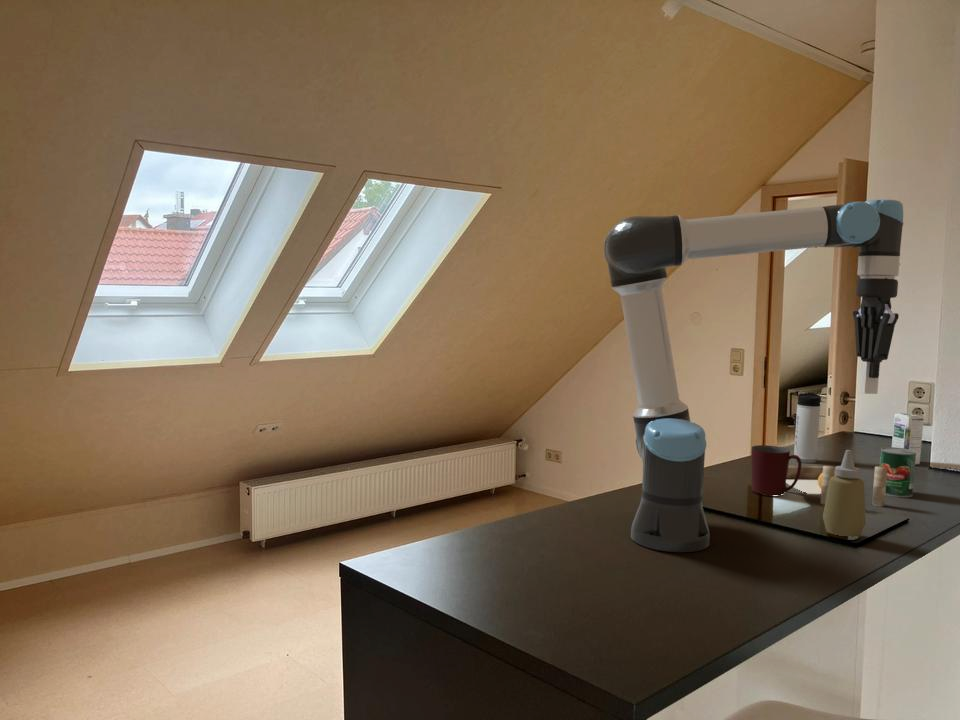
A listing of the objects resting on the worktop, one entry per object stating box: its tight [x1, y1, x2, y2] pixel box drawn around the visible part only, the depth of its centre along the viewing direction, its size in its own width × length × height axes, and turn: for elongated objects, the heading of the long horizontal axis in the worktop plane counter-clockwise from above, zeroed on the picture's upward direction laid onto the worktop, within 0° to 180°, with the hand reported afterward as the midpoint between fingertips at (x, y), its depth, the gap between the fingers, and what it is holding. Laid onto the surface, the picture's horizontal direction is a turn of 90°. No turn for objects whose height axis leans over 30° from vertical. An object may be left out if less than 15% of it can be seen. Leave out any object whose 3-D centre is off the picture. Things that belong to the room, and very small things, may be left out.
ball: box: [817, 473, 836, 489], centre depth 198 cm, size 6×6×6 cm
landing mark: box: [786, 479, 821, 495], centre depth 204 cm, size 14×14×1 cm
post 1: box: [820, 465, 836, 503], centre depth 187 cm, size 3×3×9 cm
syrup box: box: [891, 412, 925, 465], centre depth 235 cm, size 6×6×14 cm
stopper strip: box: [786, 465, 824, 480], centre depth 213 cm, size 16×2×3 cm, turn 93°
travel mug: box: [793, 392, 822, 464], centre depth 234 cm, size 6×7×20 cm
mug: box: [750, 444, 802, 495], centre depth 195 cm, size 12×9×11 cm
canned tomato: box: [879, 446, 916, 498], centre depth 199 cm, size 8×8×11 cm
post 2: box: [871, 465, 887, 507], centre depth 188 cm, size 3×3×9 cm
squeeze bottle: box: [822, 449, 866, 537], centre depth 162 cm, size 8×8×18 cm
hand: (869, 393), depth 163 cm, fingers closed
